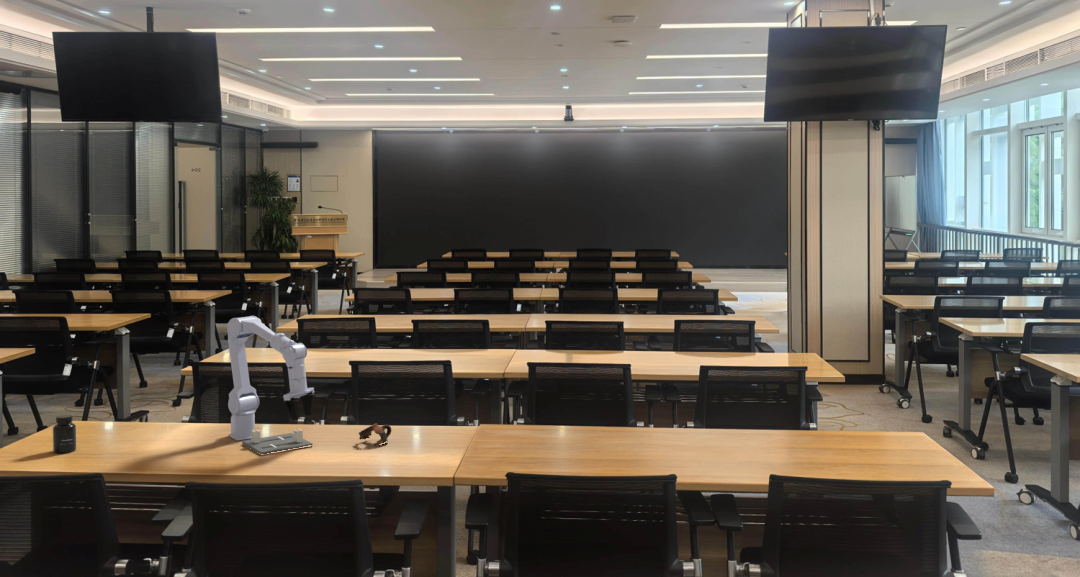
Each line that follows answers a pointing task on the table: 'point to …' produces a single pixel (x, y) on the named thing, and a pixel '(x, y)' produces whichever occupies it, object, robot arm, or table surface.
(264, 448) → the console
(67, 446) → the supplement bottle
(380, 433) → the brown arched piece
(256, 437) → the fader
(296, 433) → the fader
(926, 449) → the table surface
